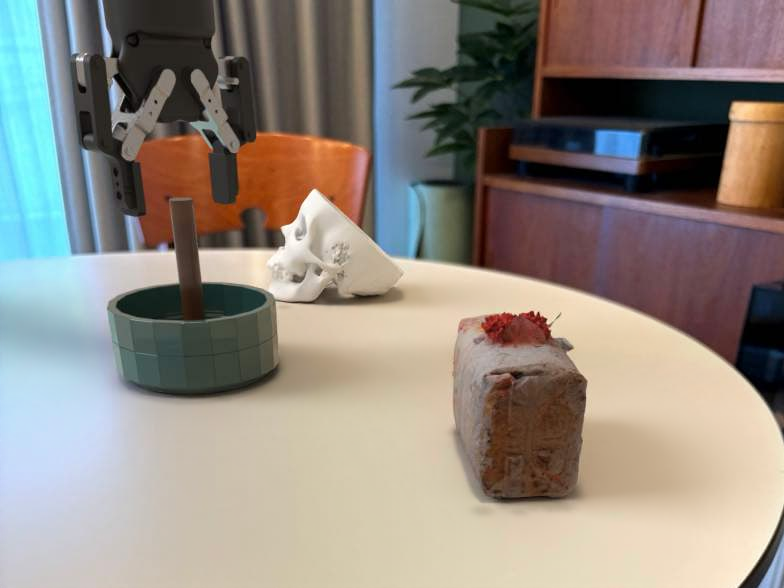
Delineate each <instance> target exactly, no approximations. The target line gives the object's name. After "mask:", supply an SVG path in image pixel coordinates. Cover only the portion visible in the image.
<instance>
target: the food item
mask: <svg viewBox="0 0 784 588" xmlns="http://www.w3.org/2000/svg"><path fill="white" fill-rule="evenodd" d="M561 316H562V311H561V312H559V314H558V315H556V317H555V319H554V320H553V321H552V322H551V323H549V324H548V323H547V322H548V318H547V317H545V316H544V315H542V316H541V313H540V310H538V311H537V312H536V314H535V310H529V311H528V312H521V313H518V314H515V313H514V314H512V312H506V311H503V312H502V313H500V312H498V313H497V312H496V313H490V314H482V315H477V316H472V317H471V316H470V317H464V318H462V319H461V318H460V321H459V324H458V328H457V334H456V340H455V344H454V350H453V357H452V380H453V381H452V383H453V384H452V411H453V418H454V419H453V420H454V424H455V427H456V429H457V432H458V434H459V437H460V439H461V441H462V445H463V448H464V452H465V455H466V457H467V460H468V462H469V464H470V466H471V468H472V471H473V473H474V475H475V478H476V481H477V483H478V484H479V486H480V488H481V490H482V491H483V495H484V497H485V496H486V497H493V498H497V499H499V500H502V499H503V498H506V499H507V498H509V499H510V498H511V499H515V498H522V497H525V498H530V497H541V496H543V497H548V498H562V497H564V496H565V497H566V496H568V495H570V494H571V493H572V491H573V489H574V487H575V486H576V485H577V481H578V478H579V471H580V469H579V465H580V464H579V463H580V456H581V454H582V449H583V434H582V433H583V428H584V421H585V413H586V406H587V388H588V382H589V381H588V379H587V378H586V377H585V376H584V375H583V374H582V373H581V372H580V371H579V370H578V368H577V366H576V364H575V362H574V361H573V360H572V359H571V357H570V356H569V355H568V354H567V353H568V352H571V351H572V350H574V349H575V347H574V345H573V344H572V343H571V342H570V341H569V340H568V339H567V338H565V337H553V336H552V335H551V334H552V329H551V327H552V326H553V324H554V323H555V321H557V320H558V319H559V318H560V317H561Z"/></svg>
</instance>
